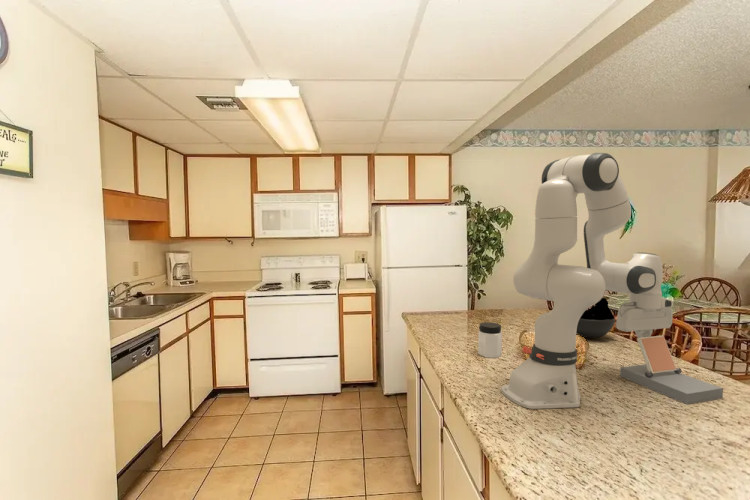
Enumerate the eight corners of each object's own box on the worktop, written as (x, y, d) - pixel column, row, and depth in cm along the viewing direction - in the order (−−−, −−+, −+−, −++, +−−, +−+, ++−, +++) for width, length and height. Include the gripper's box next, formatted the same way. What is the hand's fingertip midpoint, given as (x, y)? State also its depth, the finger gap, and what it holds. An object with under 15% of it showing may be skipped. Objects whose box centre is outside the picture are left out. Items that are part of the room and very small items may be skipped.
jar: (474, 352, 150) (474, 323, 149) (490, 350, 153) (490, 321, 153) (489, 359, 142) (489, 328, 141) (505, 356, 145) (506, 326, 144)
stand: (686, 404, 105) (687, 387, 105) (620, 376, 125) (620, 362, 125) (722, 398, 109) (723, 382, 109) (652, 371, 129) (652, 358, 129)
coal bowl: (620, 345, 158) (622, 301, 157) (568, 341, 165) (569, 298, 164) (607, 333, 177) (609, 293, 176) (561, 329, 184) (562, 291, 183)
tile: (649, 373, 118) (653, 373, 116) (636, 338, 122) (640, 337, 120) (673, 370, 120) (677, 370, 119) (660, 336, 124) (663, 335, 123)
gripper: (629, 304, 118) (627, 347, 119) (677, 301, 124) (675, 342, 124) (611, 301, 124) (610, 342, 125) (658, 298, 130) (656, 337, 130)
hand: (643, 342), depth 125 cm, fingers closed
